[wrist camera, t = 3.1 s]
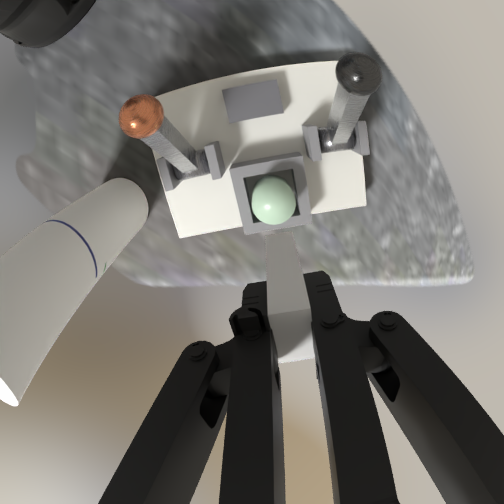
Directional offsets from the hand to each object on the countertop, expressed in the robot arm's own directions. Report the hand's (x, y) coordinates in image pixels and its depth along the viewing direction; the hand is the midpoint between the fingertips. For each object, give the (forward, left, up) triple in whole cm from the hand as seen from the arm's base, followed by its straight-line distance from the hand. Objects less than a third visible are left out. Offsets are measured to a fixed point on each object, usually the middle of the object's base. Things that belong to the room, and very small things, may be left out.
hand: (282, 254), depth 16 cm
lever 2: (-4, +6, -12) cm, 14 cm away
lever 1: (-4, -7, -12) cm, 14 cm away
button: (0, 0, -11) cm, 11 cm away
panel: (-4, -1, -15) cm, 16 cm away
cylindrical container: (-1, -18, -15) cm, 23 cm away
